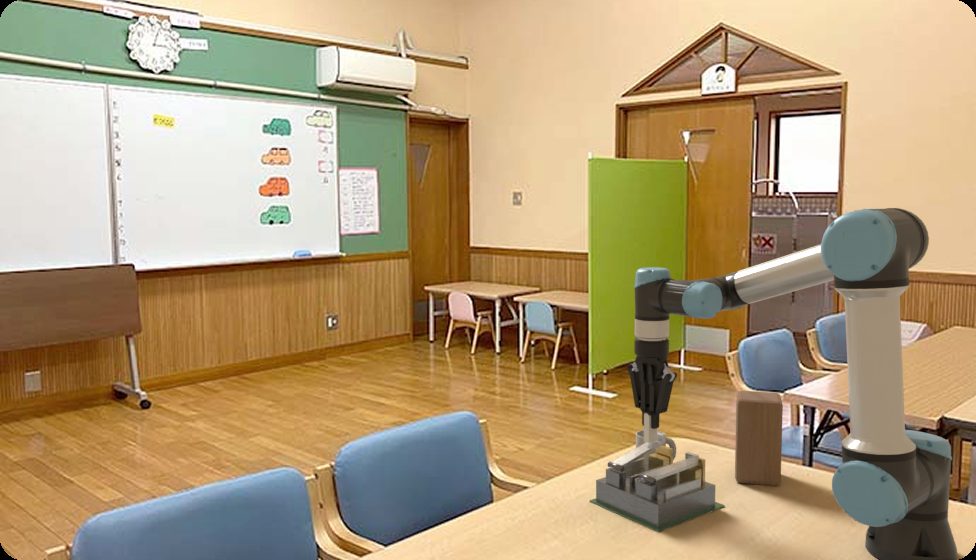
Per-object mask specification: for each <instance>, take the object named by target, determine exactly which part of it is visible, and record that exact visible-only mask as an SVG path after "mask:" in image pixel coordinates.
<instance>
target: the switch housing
mask: <svg viewBox="0 0 976 560" xmlns="http://www.w3.org/2000/svg"><path fill="white" fill-rule="evenodd" d="M673 463H674V460H673V449H672V448H670V447H669V446H663V445H661V446H660V447H658V448H656V453H653V454H650V455H649V463H648V464H646V465H645V459H644V458H641V459H638V460H637V461H635V462H633V463H632V464H630V465H628V466H627V467H625V468H624V471H623V472H621V471H618V470H615V469H613V468H610V467H608V468H606V469H605V477H602V478H598V479H596V480H595V481H596V482H595V495H596V496H595V498H592V499H590V500H589V502H590V503H592V504H594V505H597V506H598V507H601V508H603V509H606V510H608V511H610V512H613V513H614V514H617V515H619V516H621V517H624V518H625V519H628V520H630V521H633V522H635V523H637V524H639V525H641V526H643V527H647V528H648V529H651V530H653V531H655V532H658V533H660V532H663V531H665V530H667V529H671V528H672V527H675V526H679V525H681V524H683V523H686V522H688V521H691V520H694V519H696V518H699V517H701V516H703V515H707V514H709V513H711V512H714V511H717V510H719V509H720V510H721V509H722V508H724V507H725V506H726V505H725V504H722V503H720V502H717V501H716V484H713V483H711V482H708V481H706V459H705V458H702V457H699V461H698V465H697V466H694V467H692V468H689V469H686V470H684V471H681V472H678V473H676V474H673V475H670V476H667V477H665V478H662V479H659V480H657V481H656V482H655V484H652V483H649V482H647V481H644V480H642V479H639V478H638V475H639V473H642V474H645V473H648V472H651V471H654V470H656V469H659V468H662V467H665V466H667V465H670V464H673Z"/></svg>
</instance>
